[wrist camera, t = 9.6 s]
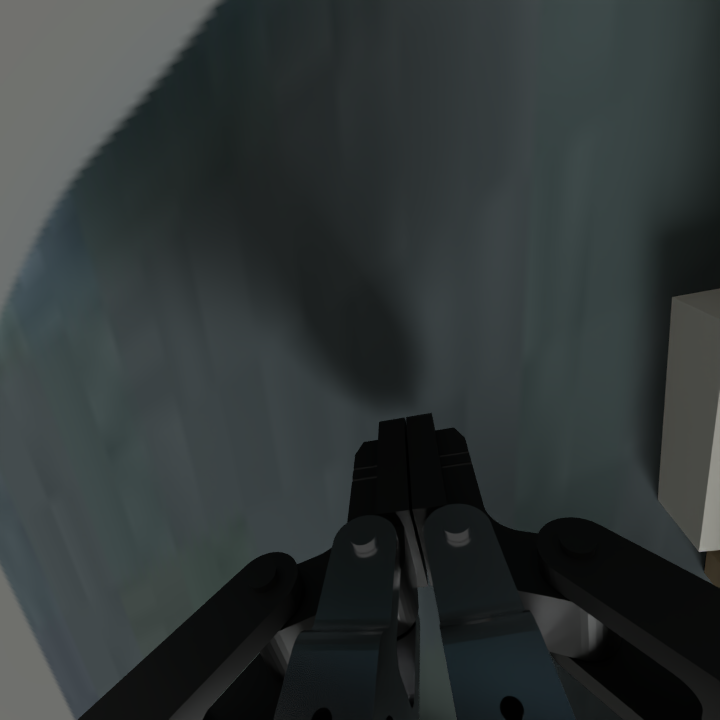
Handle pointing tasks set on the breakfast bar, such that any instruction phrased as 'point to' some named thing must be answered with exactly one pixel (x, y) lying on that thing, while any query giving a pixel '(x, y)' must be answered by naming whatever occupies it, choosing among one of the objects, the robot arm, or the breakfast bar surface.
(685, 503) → the tile
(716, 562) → the small tan table
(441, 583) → the robot arm
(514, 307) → the breakfast bar surface
